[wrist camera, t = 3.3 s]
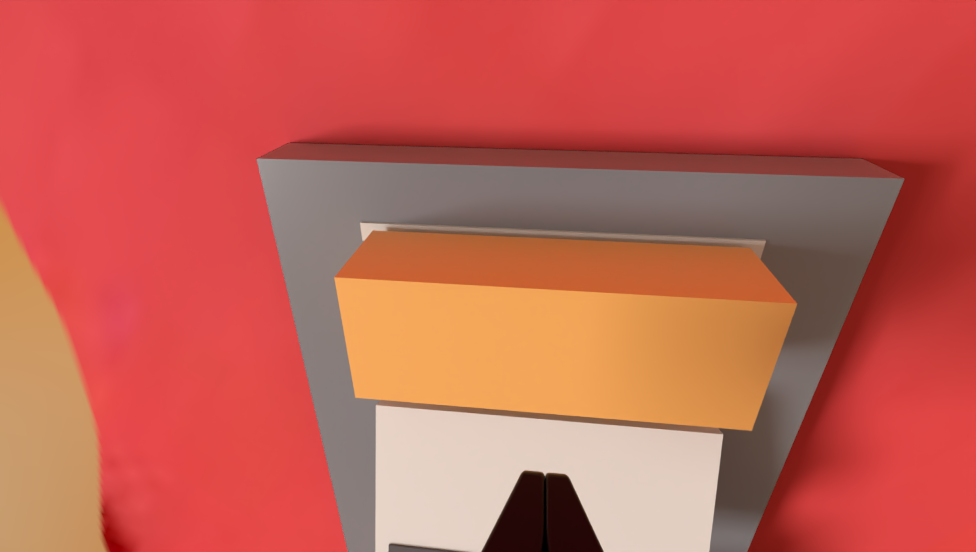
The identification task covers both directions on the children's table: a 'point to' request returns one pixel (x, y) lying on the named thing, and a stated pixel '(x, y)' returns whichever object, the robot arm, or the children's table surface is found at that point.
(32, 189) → the children's table surface
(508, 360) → the orange key
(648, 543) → the cream plate with stripe
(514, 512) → the robot arm
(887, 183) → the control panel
